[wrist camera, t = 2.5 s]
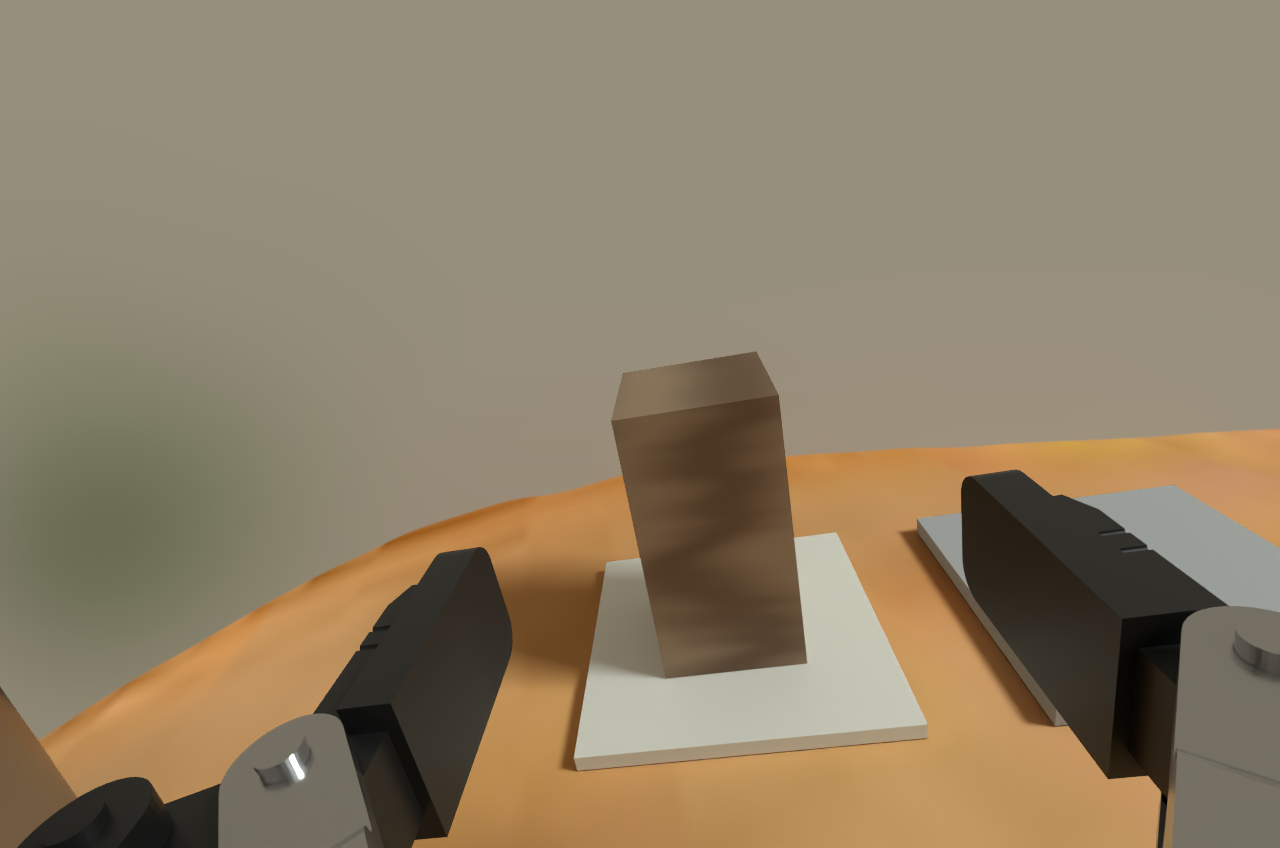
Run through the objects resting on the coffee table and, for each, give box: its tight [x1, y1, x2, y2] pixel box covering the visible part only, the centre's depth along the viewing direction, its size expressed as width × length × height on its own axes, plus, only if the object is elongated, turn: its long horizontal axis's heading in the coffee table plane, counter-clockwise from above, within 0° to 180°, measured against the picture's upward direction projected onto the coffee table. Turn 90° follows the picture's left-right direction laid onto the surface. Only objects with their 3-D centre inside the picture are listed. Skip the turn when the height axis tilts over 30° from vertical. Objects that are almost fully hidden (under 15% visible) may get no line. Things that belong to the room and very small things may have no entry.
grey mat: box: [917, 485, 1280, 726], centre depth 25 cm, size 12×12×1 cm
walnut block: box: [611, 352, 807, 679], centre depth 25 cm, size 6×6×11 cm
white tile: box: [574, 533, 928, 771], centre depth 27 cm, size 12×12×1 cm
